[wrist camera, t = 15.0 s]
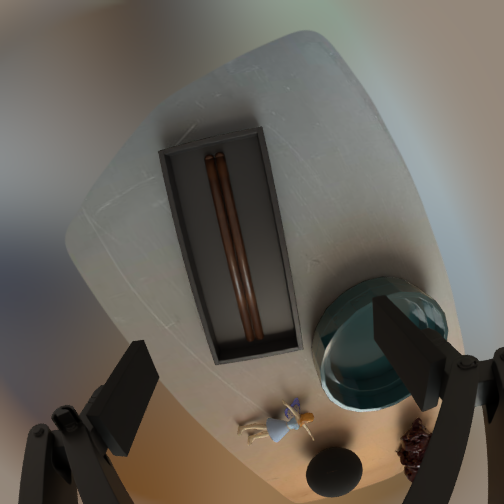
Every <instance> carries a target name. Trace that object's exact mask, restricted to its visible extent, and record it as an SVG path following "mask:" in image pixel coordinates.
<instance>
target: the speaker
mask: <svg viewBox="0 0 504 504" xmlns="http://www.w3.org/2000/svg"><path fill="white" fill-rule="evenodd" d="M362 471H363V469H362V463H361V461H360V459H359V457H358V456H357V455H356V454H355V453H354V452H352V451H351V450H348V449H346V448H340V447H334V448H329V449H326V450H323V451H321V452H320V453H318V454H317V455H316V456H315V457H314V458H313V459H312V460H311V461H310V463H309V465H308V467H307V471H306V479H307V483H308V485H309V486H310V488H311V489H312V490H313V491H314V492H315V493H317V494H319V495H321V496H324V497H339V496H342V495H345V494H347V493H349V492H350V491H351V490H353V489H354V488H355V487H356V486H357V484H358V483H359V481H360V479H361V476H362Z"/></svg>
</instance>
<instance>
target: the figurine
mask: <svg viewBox="0 0 504 504" xmlns="http://www.w3.org/2000/svg"><path fill="white" fill-rule="evenodd" d="M419 420H420V421H421V419H420V418H417V419H415V421H414V422H413V423H412V427H411V428H410V429H409V430H407V431H406V432H405V434H404V435H403V436H402V437H401V440H402V448H401V451H399V452H398V451H396V452H397V455H398V456H399V457H400V462H401V464H402V465H405V467H404V474H405V475H406V477H407V478H408V479H409V480H410V481H411V482H412V483H413V480H414V478H415V476H416V474H417V471H418V469H419V467H420V464H421V462H422V459H423V457H424V454H425V452H426V449H427V446H428V444H429V441H430V438H431V435H432V433H428V432H427V430H426V428H425V426H424V425H423V424H422V421H421V424H422V425H421V424H420V423H419Z"/></svg>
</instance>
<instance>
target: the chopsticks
mask: <svg viewBox="0 0 504 504" xmlns="http://www.w3.org/2000/svg"><path fill="white" fill-rule="evenodd" d="M204 161H205V166H206V171H207V175H208V180H209V185H210V189H211V194H212V198H213V203H214V207H215V212H216V216H217V220H218V225H219V229H220V233H221V238H222V242H223V246H224V251H225V255H226V259H227V263H228V268H229V272H230V276H231V280H232V284H233V288H234V292H235V297H236V301H237V305H238V309H239V313H240V317H241V321H242V325H243V329H244V333H245V337H246V340H247V341H249V342H252V341H253V340H254V339H255V337H256V339H257V340H262V339H263V338H264V333H263V329H262V324H261V320H260V315H259V311H258V306H257V302H256V297H255V293H254V288H253V284H252V279H251V274H250V270H249V265H248V261H247V256H246V252H245V247H244V242H243V238H242V233H241V229H240V224H239V219H238V215H237V210H236V206H235V201H234V196H233V192H232V187H231V182H230V178H229V173H228V168H227V164H226V159H225V155H224V153H222V152H217V153H216V154H215V160H214V157H213V155H211V154H208V155H206V156H205V158H204ZM215 161H216V165H217V169H216V165H215ZM217 170H218V174H217ZM218 175H219V179H220V183H219V179H218ZM220 184H221V188H222V192H221V188H220ZM222 193H223V197H222ZM223 198H224V202H225V206H224V202H223ZM225 207H226V211H227V215H226V211H225ZM227 216H228V220H229V224H228V220H227ZM229 225H230V229H231V233H230V229H229ZM231 234H232V238H233V242H232V238H231ZM233 243H234V246H233ZM234 247H235V251H236V255H235V251H234ZM236 256H237V260H238V264H237V260H236ZM238 265H239V268H238ZM239 269H240V273H241V277H240V273H239ZM241 278H242V281H241ZM242 282H243V286H244V290H243V286H242ZM244 291H245V294H244ZM245 295H246V299H247V303H246V299H245ZM247 304H248V307H247ZM248 308H249V311H248ZM249 312H250V316H251V320H250V316H249ZM251 321H252V324H251ZM252 325H253V328H252ZM253 329H254V332H253ZM254 333H255V337H254Z"/></svg>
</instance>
